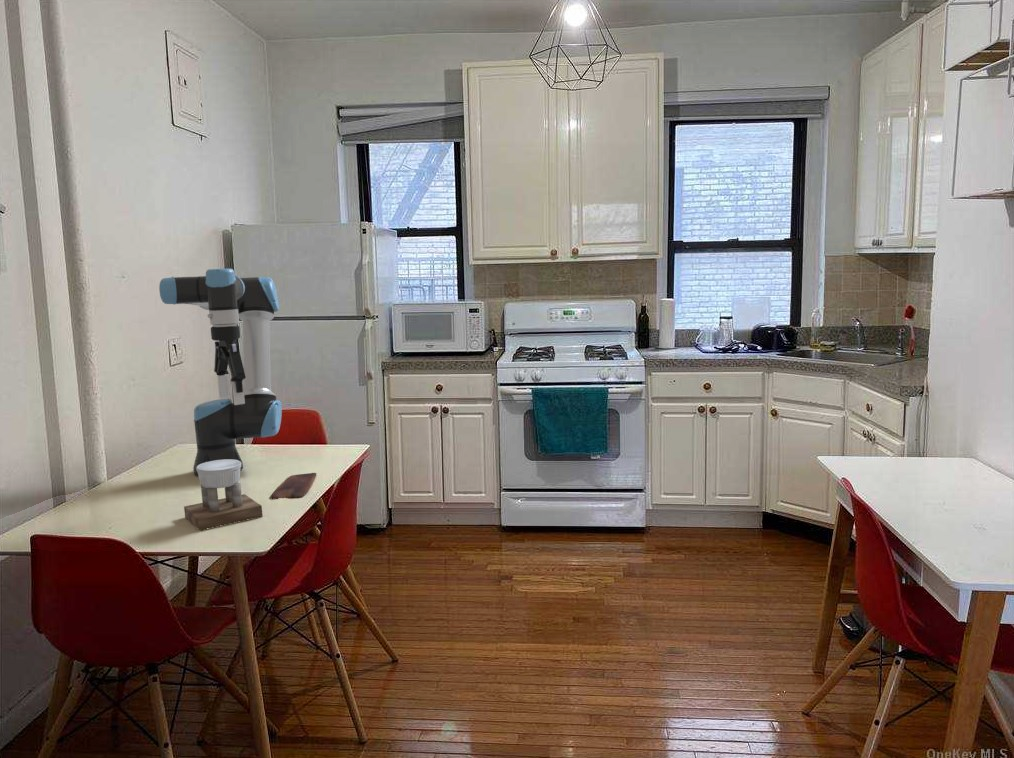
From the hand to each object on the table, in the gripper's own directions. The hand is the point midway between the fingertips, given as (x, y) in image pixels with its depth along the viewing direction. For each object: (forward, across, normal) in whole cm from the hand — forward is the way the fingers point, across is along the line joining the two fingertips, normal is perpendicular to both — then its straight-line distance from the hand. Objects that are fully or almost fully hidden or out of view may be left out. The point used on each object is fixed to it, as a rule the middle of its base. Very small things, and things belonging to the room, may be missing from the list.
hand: (232, 401), depth 216 cm
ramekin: (+19, +14, -9) cm, 25 cm away
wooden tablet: (+29, -2, +17) cm, 34 cm away
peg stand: (+28, +14, -9) cm, 33 cm away
